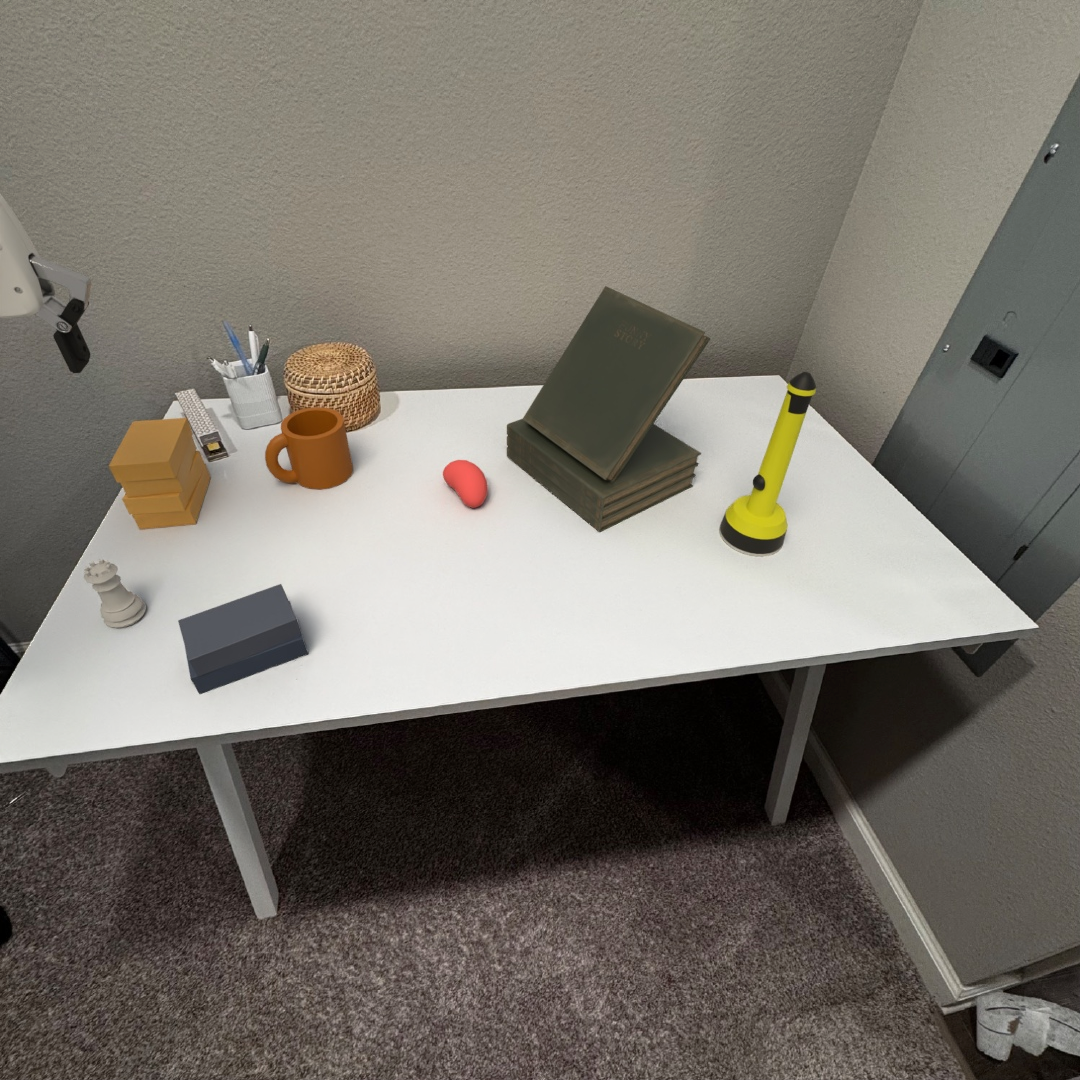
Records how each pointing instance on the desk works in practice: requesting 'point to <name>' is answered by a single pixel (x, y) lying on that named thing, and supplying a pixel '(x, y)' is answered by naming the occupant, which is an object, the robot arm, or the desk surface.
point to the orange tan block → (151, 450)
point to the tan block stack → (169, 494)
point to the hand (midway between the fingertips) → (25, 369)
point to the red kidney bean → (466, 481)
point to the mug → (312, 449)
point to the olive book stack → (611, 414)
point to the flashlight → (769, 481)
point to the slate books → (241, 638)
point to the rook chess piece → (114, 595)
